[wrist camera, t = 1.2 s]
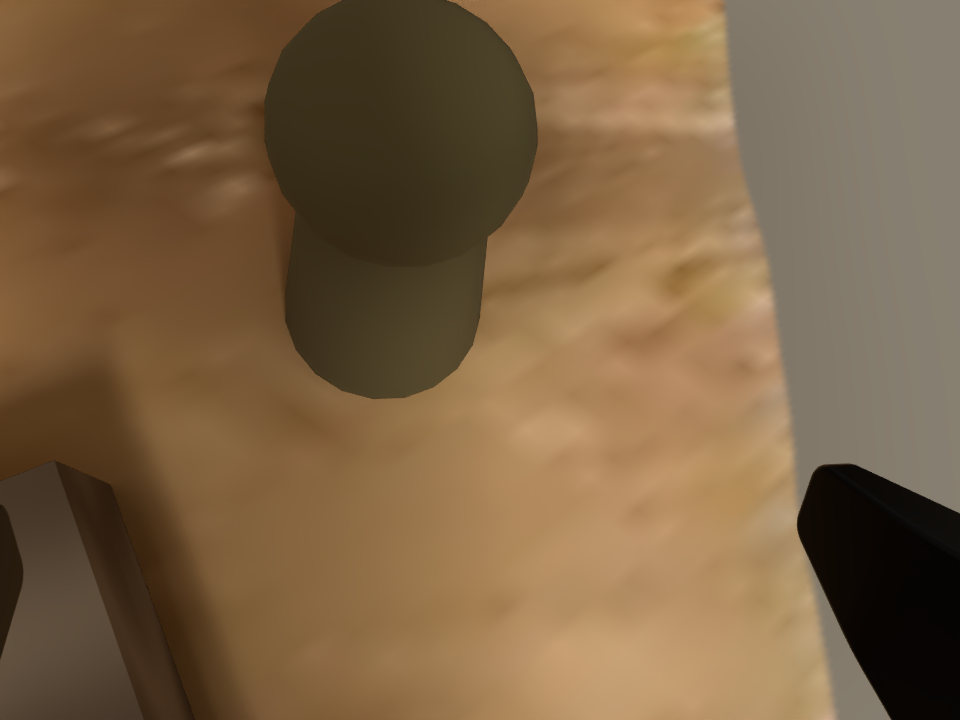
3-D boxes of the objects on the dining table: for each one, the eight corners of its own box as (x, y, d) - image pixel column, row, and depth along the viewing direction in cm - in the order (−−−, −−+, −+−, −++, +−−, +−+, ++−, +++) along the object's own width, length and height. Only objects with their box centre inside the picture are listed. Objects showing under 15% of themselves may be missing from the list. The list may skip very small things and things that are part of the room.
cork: (378, 183, 24) (398, -120, 14) (517, 303, 24) (645, 82, 13) (241, 307, 22) (144, 62, 12) (390, 440, 22) (425, 305, 11)
